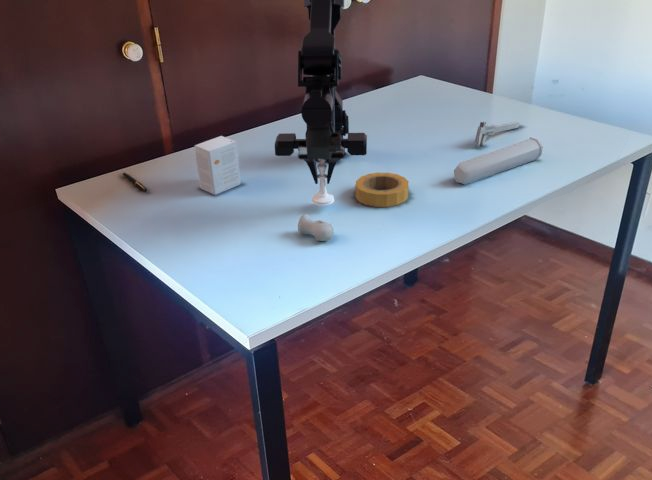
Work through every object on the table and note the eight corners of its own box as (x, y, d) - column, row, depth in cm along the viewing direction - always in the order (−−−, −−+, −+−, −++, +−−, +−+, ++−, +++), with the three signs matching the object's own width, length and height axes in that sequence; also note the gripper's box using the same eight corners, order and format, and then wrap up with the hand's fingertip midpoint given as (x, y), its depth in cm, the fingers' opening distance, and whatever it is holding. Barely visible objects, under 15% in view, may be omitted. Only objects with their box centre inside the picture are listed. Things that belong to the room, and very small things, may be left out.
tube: (468, 173, 157) (546, 145, 167) (453, 159, 159) (530, 132, 170) (461, 192, 161) (537, 164, 171) (446, 178, 163) (522, 151, 174)
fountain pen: (119, 175, 172) (118, 169, 171) (124, 173, 173) (123, 168, 172) (144, 194, 163) (143, 188, 162) (149, 193, 163) (148, 187, 162)
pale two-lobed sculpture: (337, 244, 143) (321, 246, 140) (308, 231, 148) (292, 233, 144) (342, 223, 142) (325, 225, 138) (312, 211, 146) (296, 212, 142)
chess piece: (326, 207, 150) (325, 162, 144) (307, 202, 152) (305, 158, 146) (338, 198, 154) (337, 154, 148) (319, 194, 156) (317, 150, 150)
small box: (226, 178, 169) (221, 134, 162) (241, 184, 165) (237, 140, 159) (199, 188, 164) (193, 144, 158) (214, 195, 161) (208, 151, 155)
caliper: (478, 148, 178) (481, 124, 174) (474, 147, 179) (477, 123, 175) (520, 126, 190) (524, 102, 186) (517, 125, 190) (520, 102, 187)
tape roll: (347, 201, 156) (346, 188, 155) (369, 181, 164) (369, 169, 163) (395, 211, 152) (395, 198, 150) (415, 190, 160) (416, 177, 158)
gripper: (269, 124, 135) (274, 200, 145) (366, 123, 134) (366, 199, 144) (275, 105, 144) (280, 177, 154) (367, 104, 143) (366, 177, 152)
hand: (322, 183), depth 151 cm, fingers closed on chess piece, 2 cm apart
